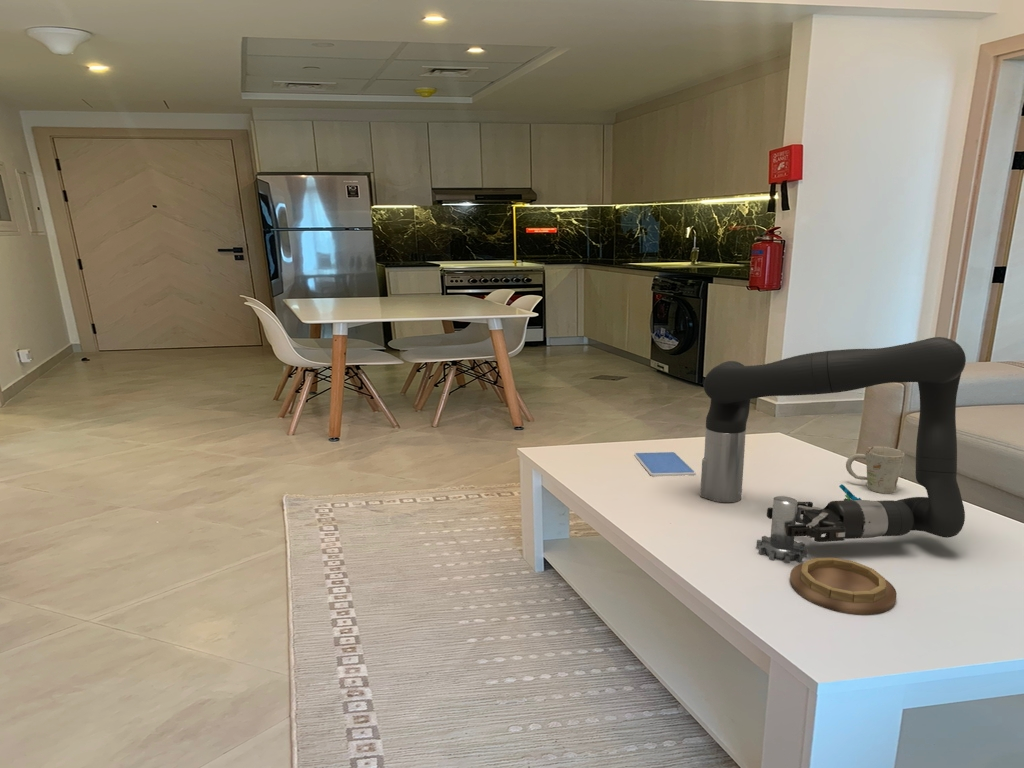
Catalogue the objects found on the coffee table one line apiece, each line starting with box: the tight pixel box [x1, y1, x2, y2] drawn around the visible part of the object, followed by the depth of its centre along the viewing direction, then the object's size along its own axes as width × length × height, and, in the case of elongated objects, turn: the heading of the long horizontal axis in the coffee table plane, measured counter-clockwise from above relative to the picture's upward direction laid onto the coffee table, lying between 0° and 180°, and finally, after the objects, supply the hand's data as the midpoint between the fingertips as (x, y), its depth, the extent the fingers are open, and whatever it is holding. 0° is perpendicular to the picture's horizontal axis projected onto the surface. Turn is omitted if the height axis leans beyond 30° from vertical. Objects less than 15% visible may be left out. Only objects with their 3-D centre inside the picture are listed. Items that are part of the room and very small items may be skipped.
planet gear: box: [755, 495, 808, 564], centre depth 132 cm, size 9×9×11 cm
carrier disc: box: [789, 557, 897, 616], centre depth 118 cm, size 17×17×3 cm
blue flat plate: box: [633, 451, 696, 477], centre depth 187 cm, size 19×13×1 cm, turn 4°
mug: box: [845, 446, 905, 494], centre depth 167 cm, size 8×13×10 cm, turn 58°
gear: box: [838, 484, 862, 501], centre depth 150 cm, size 11×6×10 cm
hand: (776, 521), depth 132 cm, fingers open, 8 cm apart
